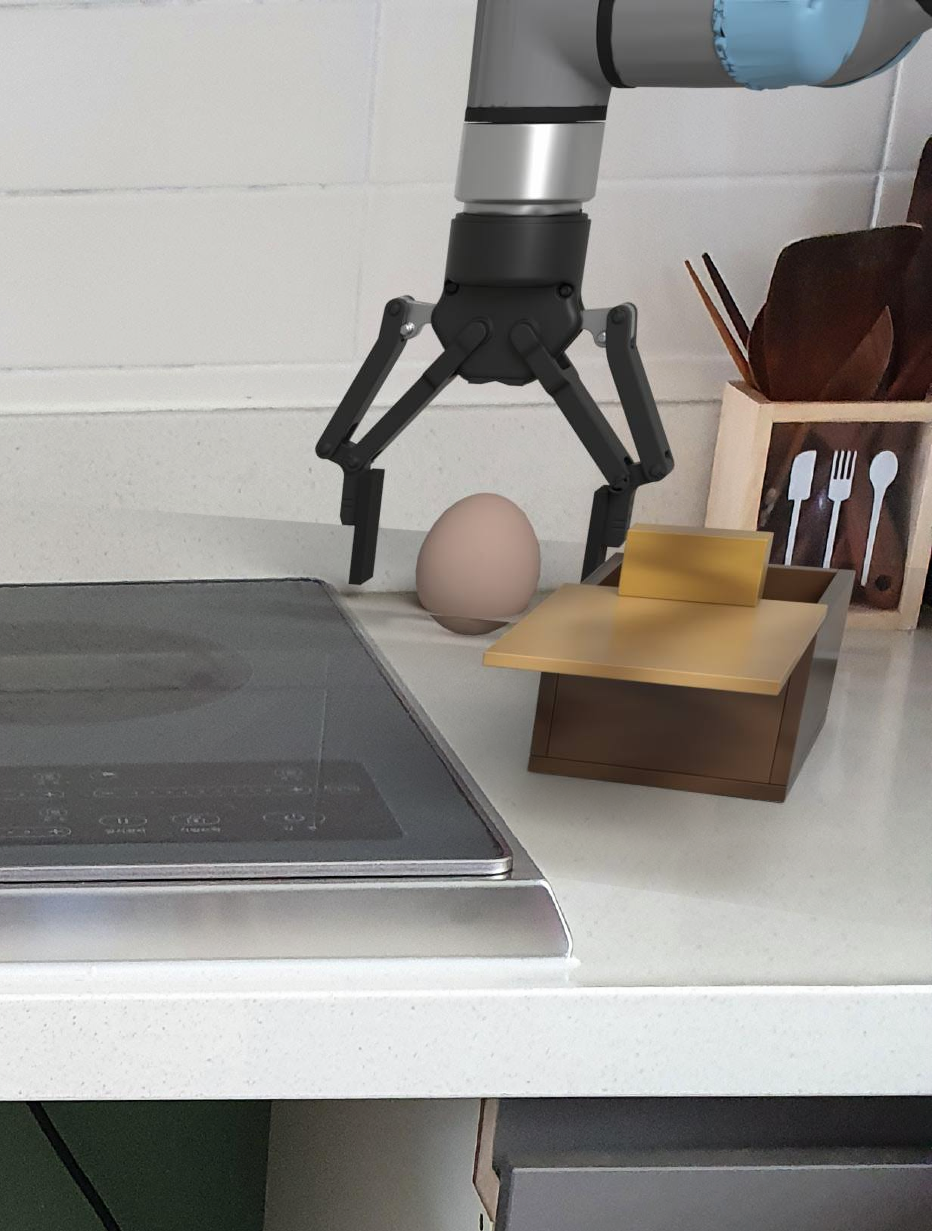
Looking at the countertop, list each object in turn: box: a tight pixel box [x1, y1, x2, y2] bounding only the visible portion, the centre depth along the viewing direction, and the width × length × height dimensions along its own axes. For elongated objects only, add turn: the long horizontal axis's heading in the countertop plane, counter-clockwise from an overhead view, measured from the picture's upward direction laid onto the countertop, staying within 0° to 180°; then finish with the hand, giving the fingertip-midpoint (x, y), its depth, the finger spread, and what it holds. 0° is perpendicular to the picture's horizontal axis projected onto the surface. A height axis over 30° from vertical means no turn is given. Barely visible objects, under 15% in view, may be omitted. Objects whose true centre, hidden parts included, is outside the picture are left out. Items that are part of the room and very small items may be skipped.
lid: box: [482, 522, 828, 696], centre depth 91 cm, size 12×16×4 cm
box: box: [526, 551, 857, 803], centre depth 104 cm, size 12×16×8 cm
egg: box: [415, 492, 542, 637], centre depth 126 cm, size 7×7×8 cm
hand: (471, 591), depth 127 cm, fingers open, 13 cm apart
